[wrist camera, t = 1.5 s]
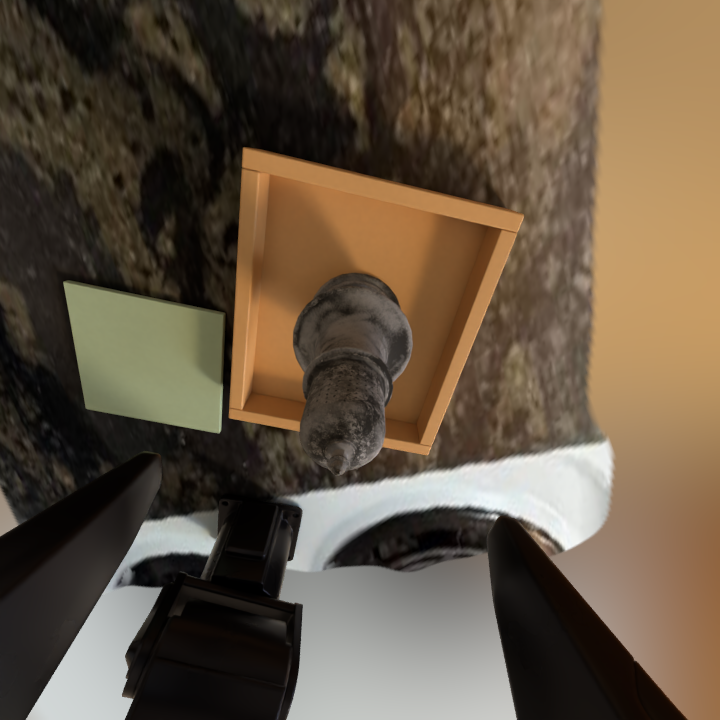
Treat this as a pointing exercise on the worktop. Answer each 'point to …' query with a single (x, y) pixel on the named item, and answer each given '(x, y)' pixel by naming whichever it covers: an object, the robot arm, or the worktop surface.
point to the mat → (148, 356)
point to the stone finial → (349, 368)
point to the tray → (367, 256)
